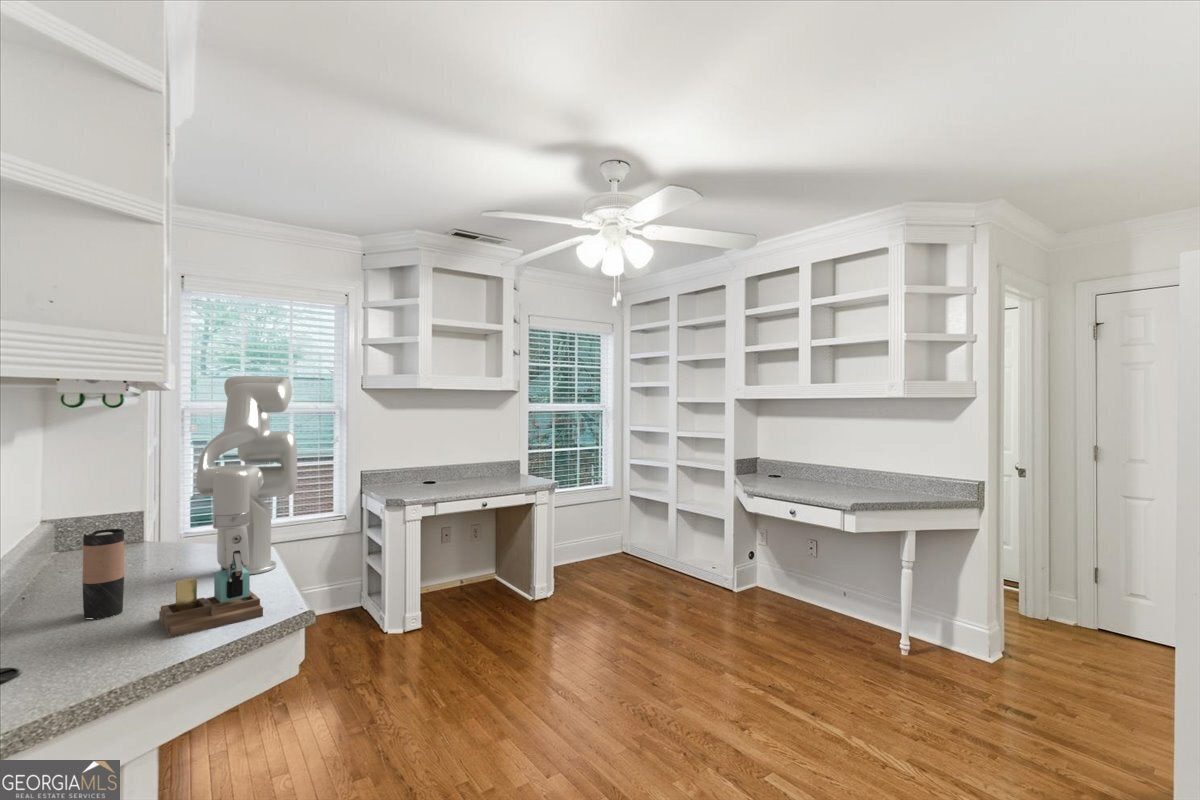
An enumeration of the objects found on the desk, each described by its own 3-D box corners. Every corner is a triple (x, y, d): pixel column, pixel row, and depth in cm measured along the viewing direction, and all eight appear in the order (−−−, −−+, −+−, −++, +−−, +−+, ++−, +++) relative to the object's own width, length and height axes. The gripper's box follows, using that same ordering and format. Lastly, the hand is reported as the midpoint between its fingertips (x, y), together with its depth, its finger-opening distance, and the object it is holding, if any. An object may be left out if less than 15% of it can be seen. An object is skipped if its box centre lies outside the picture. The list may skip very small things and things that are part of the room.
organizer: (158, 619, 135) (158, 602, 135) (245, 600, 148) (246, 585, 148) (169, 638, 124) (169, 619, 124) (262, 615, 137) (263, 599, 137)
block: (214, 596, 139) (214, 572, 139) (242, 590, 143) (242, 566, 143) (220, 602, 135) (221, 577, 135) (249, 596, 139) (249, 571, 139)
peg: (174, 614, 133) (174, 580, 133) (195, 610, 135) (195, 576, 135) (177, 619, 130) (177, 584, 130) (198, 614, 133) (198, 580, 133)
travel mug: (125, 614, 138) (125, 532, 138) (83, 623, 133) (83, 537, 133) (122, 606, 143) (123, 527, 143) (81, 614, 138) (82, 532, 138)
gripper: (259, 523, 136) (258, 598, 136) (239, 512, 148) (239, 582, 148) (222, 528, 130) (221, 606, 130) (205, 517, 142) (204, 588, 142)
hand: (231, 592), depth 139 cm, fingers closed on block, 5 cm apart
